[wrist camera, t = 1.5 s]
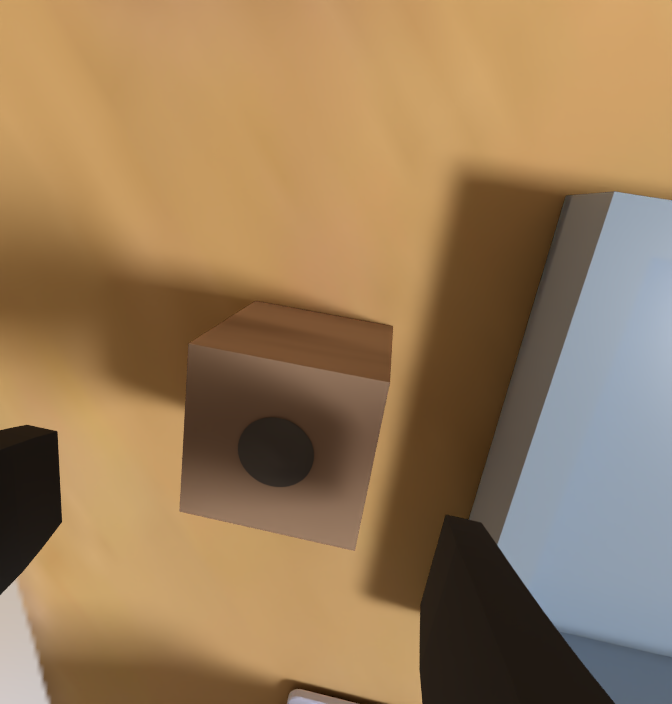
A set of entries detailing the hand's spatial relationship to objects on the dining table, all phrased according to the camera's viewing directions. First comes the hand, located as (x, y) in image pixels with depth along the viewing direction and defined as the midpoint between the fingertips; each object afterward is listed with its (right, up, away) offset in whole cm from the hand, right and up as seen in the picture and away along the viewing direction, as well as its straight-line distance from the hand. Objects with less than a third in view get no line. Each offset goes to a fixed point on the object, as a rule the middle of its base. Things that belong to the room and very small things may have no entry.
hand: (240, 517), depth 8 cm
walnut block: (+1, +2, +7) cm, 7 cm away
